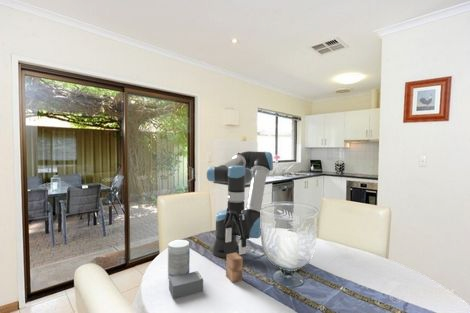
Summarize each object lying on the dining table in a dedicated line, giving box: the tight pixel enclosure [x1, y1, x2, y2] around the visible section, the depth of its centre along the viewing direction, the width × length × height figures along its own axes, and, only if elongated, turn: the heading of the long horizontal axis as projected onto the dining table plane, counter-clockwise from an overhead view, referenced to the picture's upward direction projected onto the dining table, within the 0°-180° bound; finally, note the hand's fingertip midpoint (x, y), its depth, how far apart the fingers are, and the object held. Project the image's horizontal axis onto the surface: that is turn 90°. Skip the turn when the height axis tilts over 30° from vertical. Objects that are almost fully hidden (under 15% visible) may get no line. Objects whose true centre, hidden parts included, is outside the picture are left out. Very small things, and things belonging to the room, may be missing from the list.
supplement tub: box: [167, 239, 191, 278], centre depth 107 cm, size 10×10×15 cm
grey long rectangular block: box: [168, 271, 204, 300], centre depth 96 cm, size 12×7×5 cm, turn 118°
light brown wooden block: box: [225, 252, 244, 283], centre depth 106 cm, size 5×6×10 cm
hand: (235, 247), depth 106 cm, fingers open, 13 cm apart
